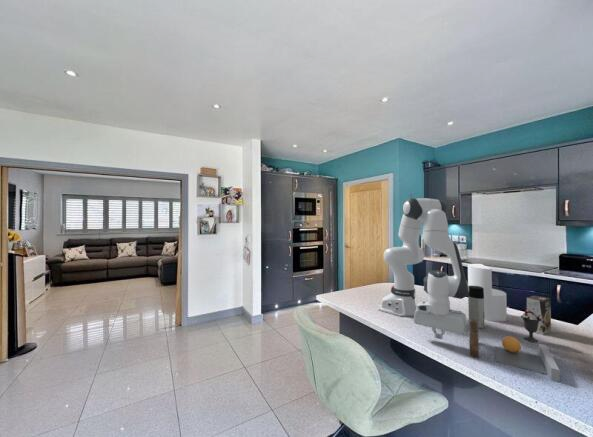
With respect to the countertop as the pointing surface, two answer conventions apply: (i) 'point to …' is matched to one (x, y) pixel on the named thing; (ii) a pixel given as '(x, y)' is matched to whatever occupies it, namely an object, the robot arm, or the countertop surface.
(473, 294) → the spray can
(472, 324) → the post
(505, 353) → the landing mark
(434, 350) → the countertop surface
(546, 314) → the coffee box
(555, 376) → the bar
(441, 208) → the robot arm
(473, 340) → the post
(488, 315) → the cylinder
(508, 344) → the ball
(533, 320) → the sundae
